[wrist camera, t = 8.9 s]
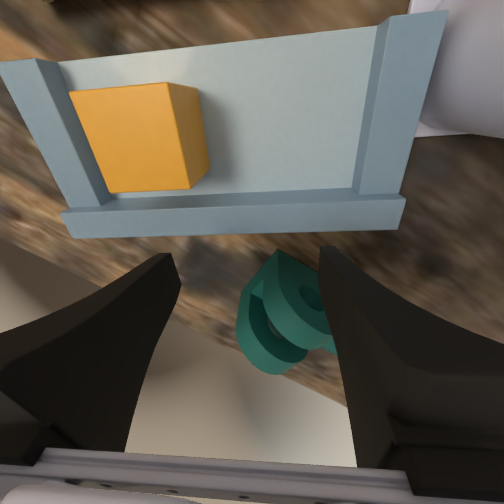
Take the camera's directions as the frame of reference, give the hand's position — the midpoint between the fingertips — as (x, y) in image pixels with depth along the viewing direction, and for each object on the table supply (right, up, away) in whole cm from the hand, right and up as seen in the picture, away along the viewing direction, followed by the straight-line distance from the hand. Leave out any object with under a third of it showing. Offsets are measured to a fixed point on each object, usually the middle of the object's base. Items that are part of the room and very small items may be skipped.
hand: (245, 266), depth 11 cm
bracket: (+9, -6, +15) cm, 18 cm away
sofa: (-2, +9, +6) cm, 11 cm away
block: (-5, +8, +3) cm, 10 cm away
